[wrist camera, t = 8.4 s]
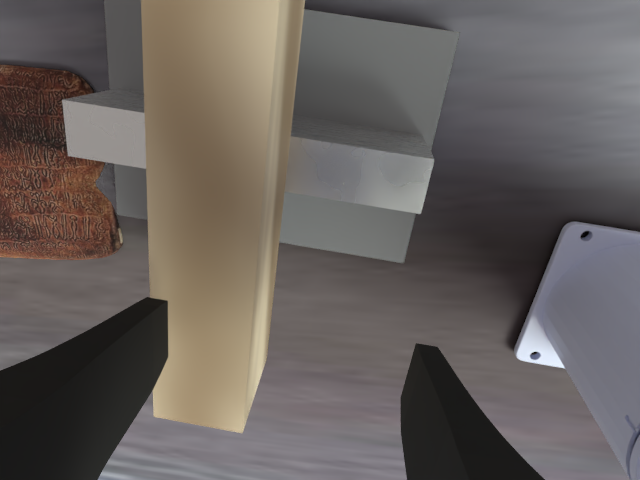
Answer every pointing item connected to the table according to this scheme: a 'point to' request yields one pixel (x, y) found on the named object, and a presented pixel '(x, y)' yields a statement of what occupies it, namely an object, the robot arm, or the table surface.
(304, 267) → the table surface
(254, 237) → the maple bar
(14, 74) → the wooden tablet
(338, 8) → the table surface
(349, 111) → the grey slab
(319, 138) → the steel ridge
